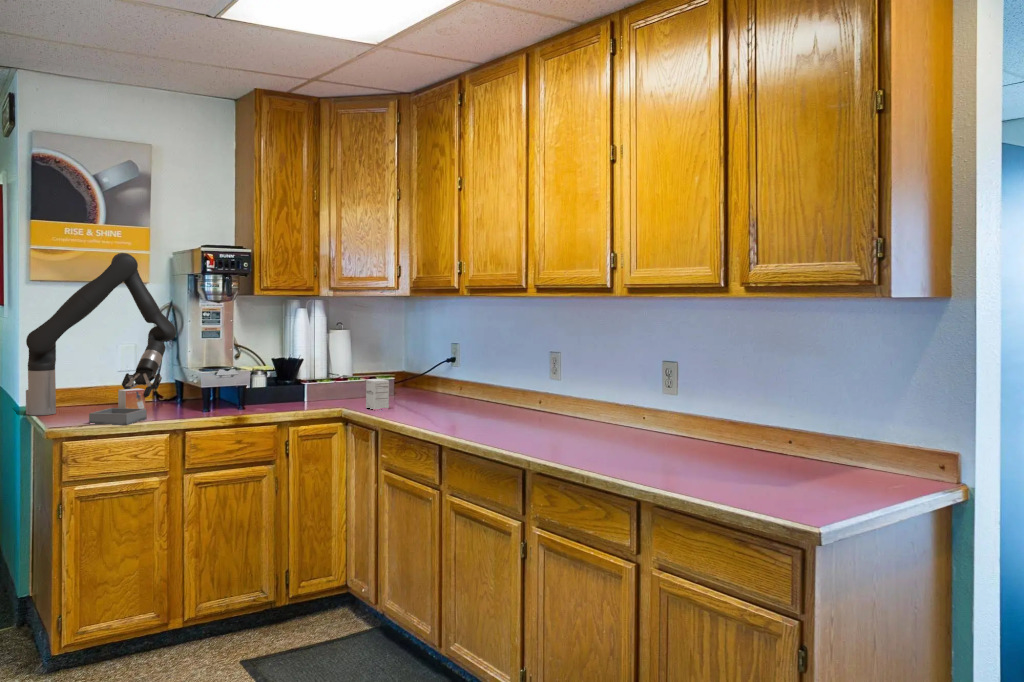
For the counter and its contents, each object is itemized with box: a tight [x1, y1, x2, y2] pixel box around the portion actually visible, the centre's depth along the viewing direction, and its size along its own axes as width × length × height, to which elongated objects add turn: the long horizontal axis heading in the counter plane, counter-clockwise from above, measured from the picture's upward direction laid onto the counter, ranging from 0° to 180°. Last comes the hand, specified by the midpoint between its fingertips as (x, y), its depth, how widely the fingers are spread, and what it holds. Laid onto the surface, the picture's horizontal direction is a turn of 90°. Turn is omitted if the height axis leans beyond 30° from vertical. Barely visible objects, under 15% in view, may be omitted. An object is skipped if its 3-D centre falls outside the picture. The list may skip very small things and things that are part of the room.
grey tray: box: [88, 407, 148, 426], centre depth 298 cm, size 14×14×4 cm
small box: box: [117, 387, 146, 409], centre depth 311 cm, size 8×6×10 cm
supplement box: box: [365, 378, 390, 410], centre depth 340 cm, size 7×7×13 cm
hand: (135, 396), depth 312 cm, fingers closed on small box, 7 cm apart
